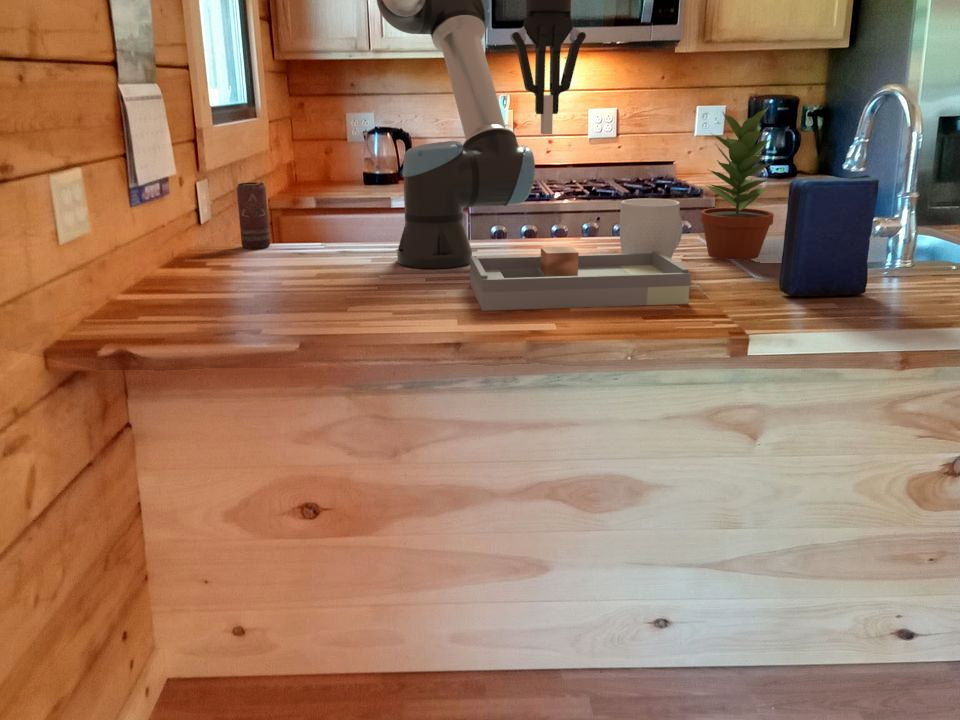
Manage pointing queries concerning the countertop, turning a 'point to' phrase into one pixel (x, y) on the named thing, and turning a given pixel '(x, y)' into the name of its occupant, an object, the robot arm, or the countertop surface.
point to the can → (253, 215)
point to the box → (570, 281)
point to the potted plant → (738, 197)
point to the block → (559, 261)
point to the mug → (650, 226)
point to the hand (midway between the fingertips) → (546, 133)
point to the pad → (660, 288)
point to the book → (828, 236)
